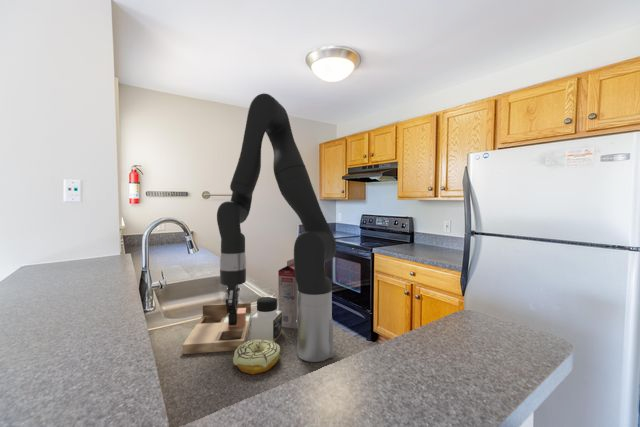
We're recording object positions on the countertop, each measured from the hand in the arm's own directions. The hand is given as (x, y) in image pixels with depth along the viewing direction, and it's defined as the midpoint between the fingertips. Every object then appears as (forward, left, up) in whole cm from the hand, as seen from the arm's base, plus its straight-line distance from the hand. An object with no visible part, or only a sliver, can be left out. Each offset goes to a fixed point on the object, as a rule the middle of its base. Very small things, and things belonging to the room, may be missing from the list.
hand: (233, 324), depth 84 cm
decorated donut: (-8, +15, -4) cm, 18 cm away
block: (-1, -5, -2) cm, 5 cm away
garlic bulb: (-10, -20, -4) cm, 23 cm away
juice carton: (-18, -8, -4) cm, 20 cm away
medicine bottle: (-10, +1, -4) cm, 11 cm away
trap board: (+4, -3, -4) cm, 6 cm away
